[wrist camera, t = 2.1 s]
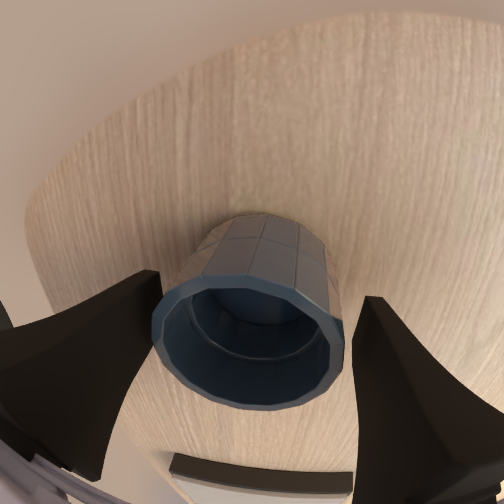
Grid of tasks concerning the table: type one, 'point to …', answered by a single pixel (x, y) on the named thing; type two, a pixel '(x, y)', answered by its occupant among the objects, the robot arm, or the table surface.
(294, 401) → the cup
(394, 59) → the table surface
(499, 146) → the table surface
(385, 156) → the table surface
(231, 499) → the scale
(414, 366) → the robot arm
